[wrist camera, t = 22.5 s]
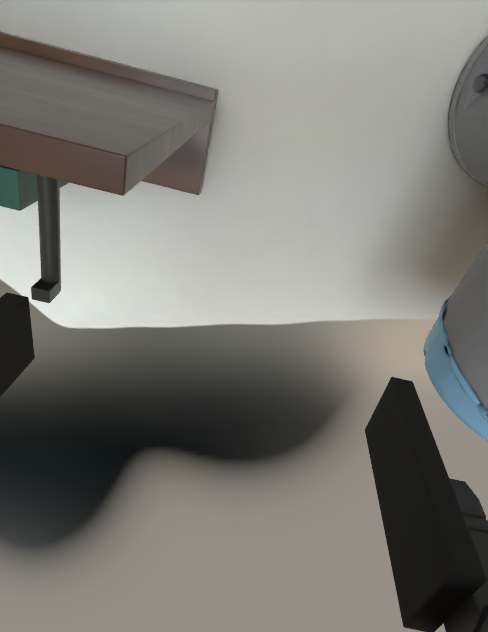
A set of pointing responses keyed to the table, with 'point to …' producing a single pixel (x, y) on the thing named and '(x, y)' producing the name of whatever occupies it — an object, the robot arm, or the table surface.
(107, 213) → the table surface
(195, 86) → the hook rack
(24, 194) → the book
